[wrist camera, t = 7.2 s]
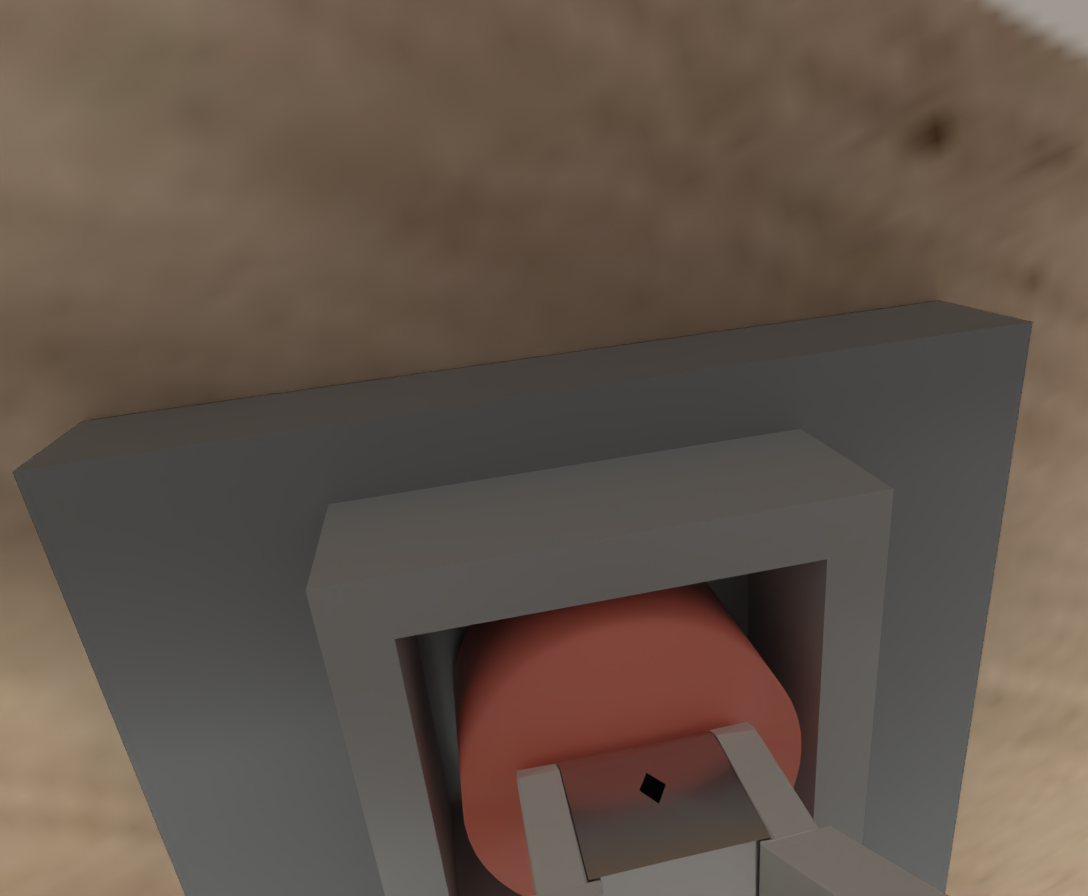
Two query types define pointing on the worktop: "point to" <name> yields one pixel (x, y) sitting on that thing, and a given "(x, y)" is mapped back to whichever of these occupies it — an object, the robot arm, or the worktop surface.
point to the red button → (600, 699)
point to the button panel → (534, 575)
